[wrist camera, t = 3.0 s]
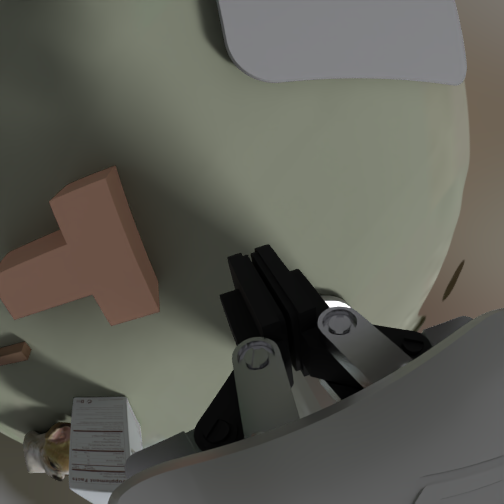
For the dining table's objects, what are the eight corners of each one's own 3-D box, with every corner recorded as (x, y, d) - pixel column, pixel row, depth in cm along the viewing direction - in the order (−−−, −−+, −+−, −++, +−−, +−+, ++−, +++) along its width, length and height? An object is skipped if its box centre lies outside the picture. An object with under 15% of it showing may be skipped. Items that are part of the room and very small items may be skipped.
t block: (158, 281, 23) (159, 311, 20) (44, 316, 21) (34, 346, 18) (115, 165, 18) (105, 178, 15) (-7, 221, 16) (-30, 242, 13)
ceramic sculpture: (3, 466, 18) (75, 462, 21) (7, 419, 25) (74, 405, 28) (51, 492, 24) (123, 487, 27) (50, 450, 31) (116, 439, 34)
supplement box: (141, 424, 32) (153, 508, 21) (91, 425, 30) (94, 506, 19) (128, 394, 28) (136, 493, 18) (71, 395, 26) (67, 489, 16)
